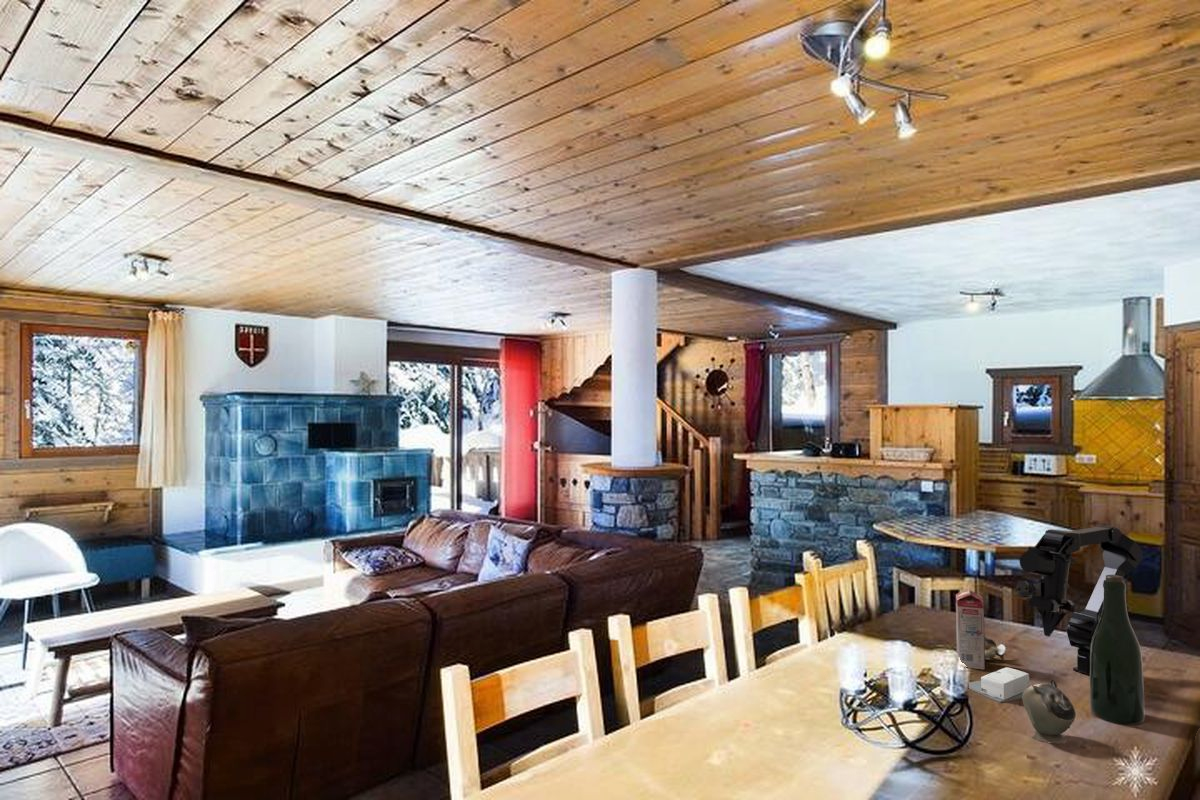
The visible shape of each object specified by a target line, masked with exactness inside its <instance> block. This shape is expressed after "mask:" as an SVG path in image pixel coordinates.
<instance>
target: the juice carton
mask: <svg viewBox="0 0 1200 800" xmlns="http://www.w3.org/2000/svg"><path fill="white" fill-rule="evenodd" d="M955 611H956V613H955V615H956V617H955V618H956V621H955V622H956V653H957V652H958V655H959V657H960V660H961V662H962V663H964V664H965V665H966V666H967V667H968V668H967V669H975V670H984V671H985V670H986V658H985V651H986V649H985V638H984V637H985V602H984V600H983V597H982V596H981V595H979V594H977V593H976V592H974V591H973V590H971V588H970V585H969V583H967V589H965V590H963V591H960V592H958V593H956V594H955Z"/></svg>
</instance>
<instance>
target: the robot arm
mask: <svg viewBox="0 0 1200 800" xmlns="http://www.w3.org/2000/svg"><path fill="white" fill-rule="evenodd" d="M1097 544H1098V547H1099V548H1100V550H1102V561H1103V564H1104V567H1103V570H1102V572H1101V574H1100V575H1099V578H1098V580H1097V582H1096V584H1095V587H1094V588H1093V591H1092V593H1091V596H1090V597H1089V600H1088V602H1087V605H1086V606H1085V609H1084V610H1082V611H1081V612H1076V611H1075V603H1074V602H1073V601H1072V600H1070V599H1067V598H1066V593H1067V589H1069V588H1070V584H1069V583H1068V579H1069V573H1070V571H1069V570H1070V565H1071V564H1073V565H1074V564H1076V560H1075V559H1074V557H1072V554H1075V553H1077V552H1079V551H1081V548H1082V547H1086V546H1092V545H1097ZM1143 557H1144V552H1143V550H1142V548H1141V547H1140V546H1139V545H1138V544H1137V542H1135V540H1133V539H1132V538H1130V537H1129V536H1127V535H1126V534H1124V533H1123V532H1122V531H1121V530H1120V529H1119V528H1117V527H1116V526H1109V525H1101V524H1100V525H1097V526H1093V527H1087V528H1083V529H1074V530H1062V529H1061V530H1060V529H1051V528H1050V529H1047V530H1046V531H1045V532H1044V534H1043V535H1042V536H1041V538H1040V539H1038V541H1037V543H1036V544H1035V546H1028V549H1027V551H1025V552H1023V553H1022V554H1021V556H1020V557H1019V566H1020V568H1021V569H1022V570H1023V571H1024V572H1026V573H1028V574H1035V575H1040V576H1041V577H1039V578H1038V579H1037V583H1028V581H1027V580H1018V581H1017V582H1018V583H1017V585H1015V591H1016V592H1017V596H1018V598H1027V602H1026V605H1027V606H1030V607H1034V609H1036V611H1037V612H1038V613H1039V614H1040V618H1041V622H1042V628H1043V633H1044V636H1046V637H1051V636H1052V634H1053V632H1054V631H1055V630H1056V628H1057V627H1058V625H1059V624H1060V623H1061V622H1062V620H1063V619H1065V617H1066V615H1067V614H1068V612H1069V613H1070V612H1072V614H1071V617H1070V619H1069V622H1067V625H1068V626H1067V628H1066V634H1067V635H1066V636H1067V639H1068V642H1069V645H1070V647H1075V648H1077V655H1076V657H1077V658H1076V663H1077V664H1076V665H1077V666H1075V667H1074V666H1073V667H1072V670H1073V671H1075V672H1079V673H1081V674H1084V675H1087V676H1090V648H1091V641H1092V637H1093V634H1094V632H1095V630H1096V628H1097V626H1098V623H1099V621H1100V619H1101V615H1102V611H1103V602H1104V587H1103V582H1104V580H1106V575H1118V576H1122V577H1123V579H1124V578H1125V576H1126V575H1127V574H1129V573H1131V572H1132V571H1134V570H1136V569H1137V567H1138V565H1139V564H1140V563H1141V560H1143ZM1062 610H1064V611H1062ZM1066 611H1068V612H1066Z"/></svg>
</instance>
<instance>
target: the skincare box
mask: <svg viewBox="0 0 1200 800" xmlns="http://www.w3.org/2000/svg"><path fill="white" fill-rule="evenodd" d="M980 680H981V693H984V694H987V695H990V696H992V697H996V698H1000V699H1003V700H1005V699H1008V698H1010V697H1013V696H1015V695H1017V694H1020V693H1022V692H1024V691H1025V690H1026V689H1027V688H1028V687H1030V674H1029V673H1027V672H1025V671H1022V670H1018V669H1014V668H1011V667H1004V668H1000V669H998V670H996V671H995V670H994V671H993V672H990V673H988V674H986V675H983V676H981V677H980Z"/></svg>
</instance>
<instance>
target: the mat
mask: <svg viewBox="0 0 1200 800" xmlns="http://www.w3.org/2000/svg"><path fill="white" fill-rule="evenodd" d="M968 683H969V689H968V690H970V691H973V692H974V693H978V694H979V695H982V696H984V697H987V698H989V699H991V700H993V701H995V702H997V703H1006V702H1010V701H1015V700H1021V699H1022V694H1023V692H1022V693H1020V694H1017V695H1015V696H1013V697H1010V698H1008V699H1005V700H1003V699H1000V698H996V697H992V696H990V695H987V694H984V693H981V679H980V680H975V681H970V682H968Z"/></svg>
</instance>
